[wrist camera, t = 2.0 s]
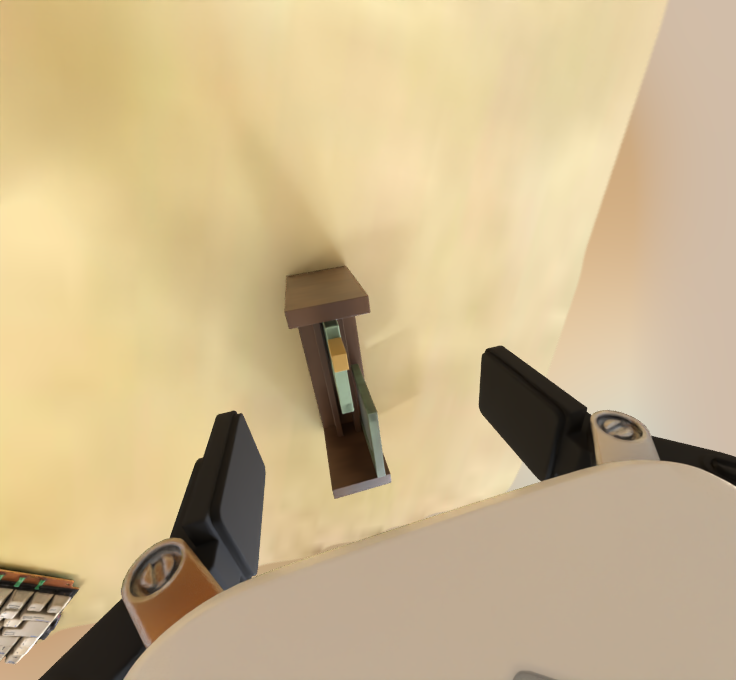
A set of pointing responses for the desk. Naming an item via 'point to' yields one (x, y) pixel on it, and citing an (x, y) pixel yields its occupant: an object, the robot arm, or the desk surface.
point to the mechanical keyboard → (29, 610)
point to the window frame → (342, 431)
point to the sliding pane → (338, 364)
